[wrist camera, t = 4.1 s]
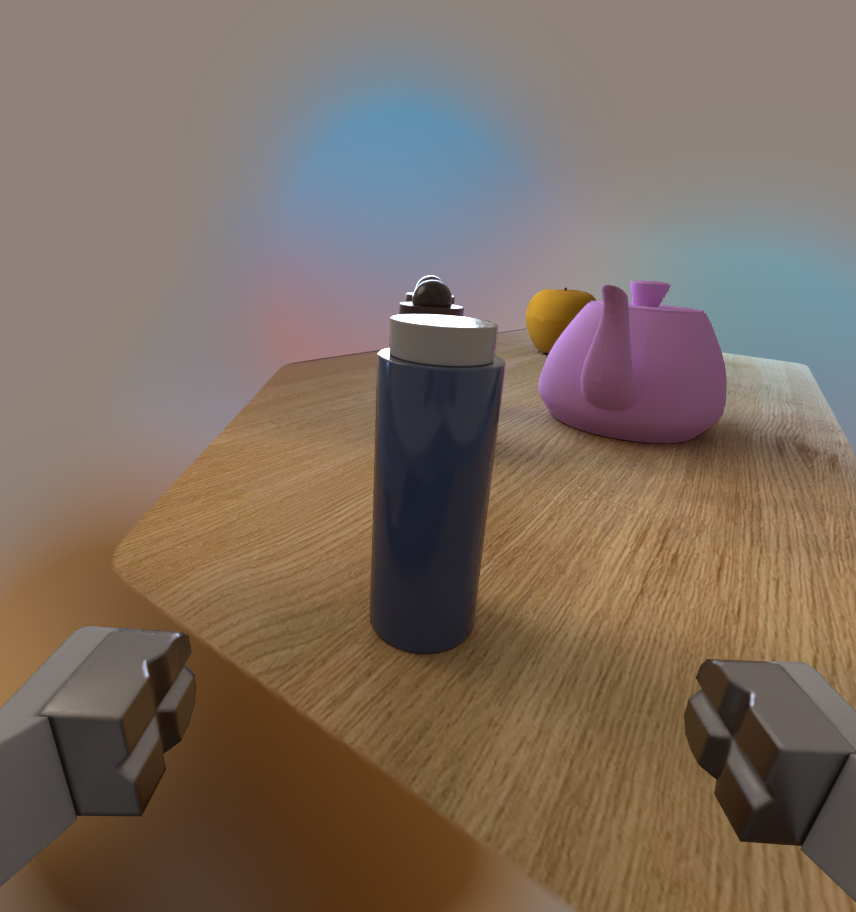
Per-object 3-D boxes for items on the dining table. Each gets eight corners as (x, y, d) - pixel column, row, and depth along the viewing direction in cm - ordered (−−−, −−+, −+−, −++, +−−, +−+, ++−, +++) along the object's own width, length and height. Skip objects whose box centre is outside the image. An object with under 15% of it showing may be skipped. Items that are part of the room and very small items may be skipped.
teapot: (572, 386, 65) (591, 276, 60) (724, 414, 56) (761, 288, 52) (486, 430, 45) (504, 271, 40) (699, 484, 37) (755, 290, 32)
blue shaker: (347, 616, 21) (350, 314, 16) (416, 572, 24) (434, 311, 19) (428, 672, 18) (457, 333, 14) (493, 615, 21) (534, 325, 17)
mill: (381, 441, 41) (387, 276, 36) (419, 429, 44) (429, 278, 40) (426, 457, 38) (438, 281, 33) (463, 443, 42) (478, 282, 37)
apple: (508, 351, 89) (517, 284, 85) (539, 345, 99) (548, 285, 95) (578, 363, 82) (590, 291, 78) (603, 355, 92) (615, 290, 88)
